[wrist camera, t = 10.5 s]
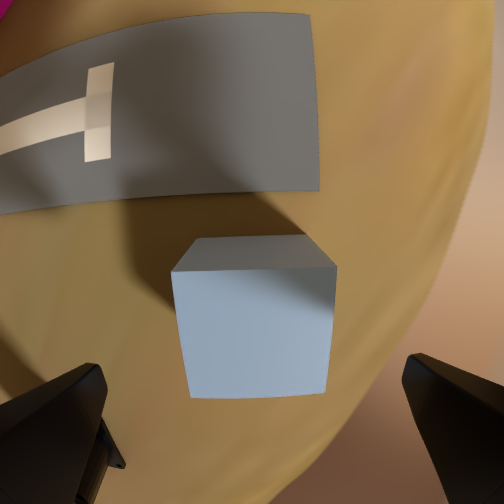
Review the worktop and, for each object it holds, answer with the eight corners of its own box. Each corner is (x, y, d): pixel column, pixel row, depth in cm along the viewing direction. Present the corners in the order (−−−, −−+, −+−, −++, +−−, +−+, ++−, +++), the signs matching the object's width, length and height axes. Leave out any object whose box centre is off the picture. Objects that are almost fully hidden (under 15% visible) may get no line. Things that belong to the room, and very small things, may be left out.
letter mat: (318, 191, 13) (319, 191, 13) (-35, 221, 13) (-37, 221, 13) (308, 16, 11) (309, 14, 10) (-33, 99, 10) (-35, 98, 10)
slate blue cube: (303, 329, 15) (324, 392, 10) (206, 333, 15) (191, 397, 10) (306, 233, 14) (337, 266, 9) (197, 237, 14) (170, 271, 9)
